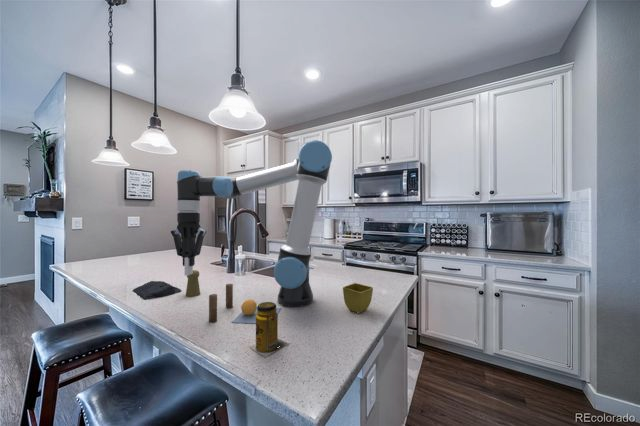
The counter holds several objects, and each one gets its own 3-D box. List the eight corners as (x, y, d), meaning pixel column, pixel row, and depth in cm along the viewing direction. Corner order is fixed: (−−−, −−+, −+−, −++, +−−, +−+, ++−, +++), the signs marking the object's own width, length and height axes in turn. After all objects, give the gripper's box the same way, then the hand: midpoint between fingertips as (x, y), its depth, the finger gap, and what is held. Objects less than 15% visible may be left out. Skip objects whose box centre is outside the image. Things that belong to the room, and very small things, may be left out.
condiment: (249, 347, 69) (249, 305, 69) (273, 336, 75) (273, 297, 75) (265, 357, 64) (265, 312, 64) (289, 344, 71) (289, 302, 71)
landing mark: (281, 308, 97) (281, 307, 97) (271, 324, 83) (271, 323, 83) (246, 307, 98) (246, 306, 98) (231, 322, 84) (231, 322, 84)
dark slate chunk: (165, 284, 130) (165, 275, 130) (183, 293, 116) (183, 283, 116) (129, 291, 118) (129, 281, 118) (145, 302, 104) (145, 291, 104)
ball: (243, 299, 94) (247, 313, 94) (236, 304, 88) (241, 319, 88) (256, 295, 93) (260, 309, 93) (251, 300, 88) (255, 315, 88)
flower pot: (373, 310, 96) (373, 287, 96) (361, 317, 89) (361, 292, 89) (354, 304, 102) (355, 282, 102) (341, 310, 95) (342, 287, 95)
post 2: (233, 306, 99) (233, 283, 99) (230, 308, 96) (231, 285, 96) (227, 305, 99) (227, 283, 99) (224, 308, 97) (224, 285, 97)
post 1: (218, 319, 86) (218, 294, 86) (214, 322, 84) (214, 296, 84) (211, 319, 87) (211, 293, 87) (207, 322, 84) (207, 296, 84)
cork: (194, 297, 109) (194, 272, 109) (182, 296, 110) (182, 271, 110) (203, 293, 115) (203, 269, 115) (191, 292, 116) (192, 268, 116)
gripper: (210, 212, 96) (210, 272, 96) (178, 212, 97) (178, 271, 97) (199, 212, 88) (199, 277, 88) (165, 211, 89) (165, 276, 89)
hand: (188, 274), depth 93 cm, fingers closed
